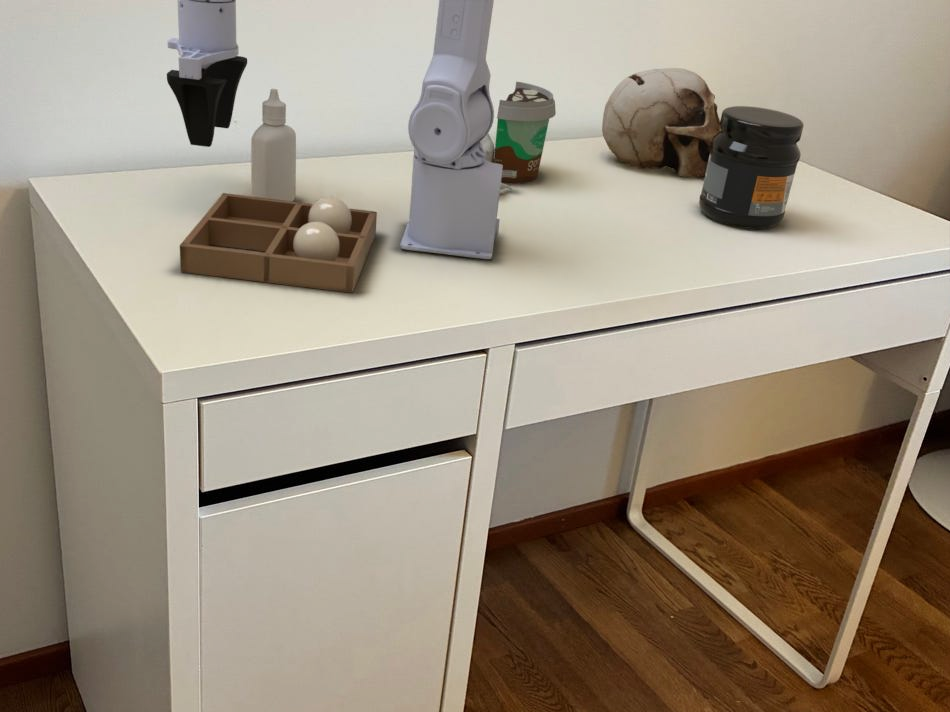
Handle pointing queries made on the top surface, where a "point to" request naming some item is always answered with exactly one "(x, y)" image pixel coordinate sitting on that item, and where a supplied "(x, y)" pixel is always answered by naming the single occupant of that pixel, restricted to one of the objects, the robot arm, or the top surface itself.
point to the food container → (522, 132)
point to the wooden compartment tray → (272, 244)
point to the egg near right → (316, 242)
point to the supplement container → (751, 167)
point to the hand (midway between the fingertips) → (210, 135)
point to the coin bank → (662, 121)
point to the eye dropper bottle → (273, 153)
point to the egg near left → (331, 214)
